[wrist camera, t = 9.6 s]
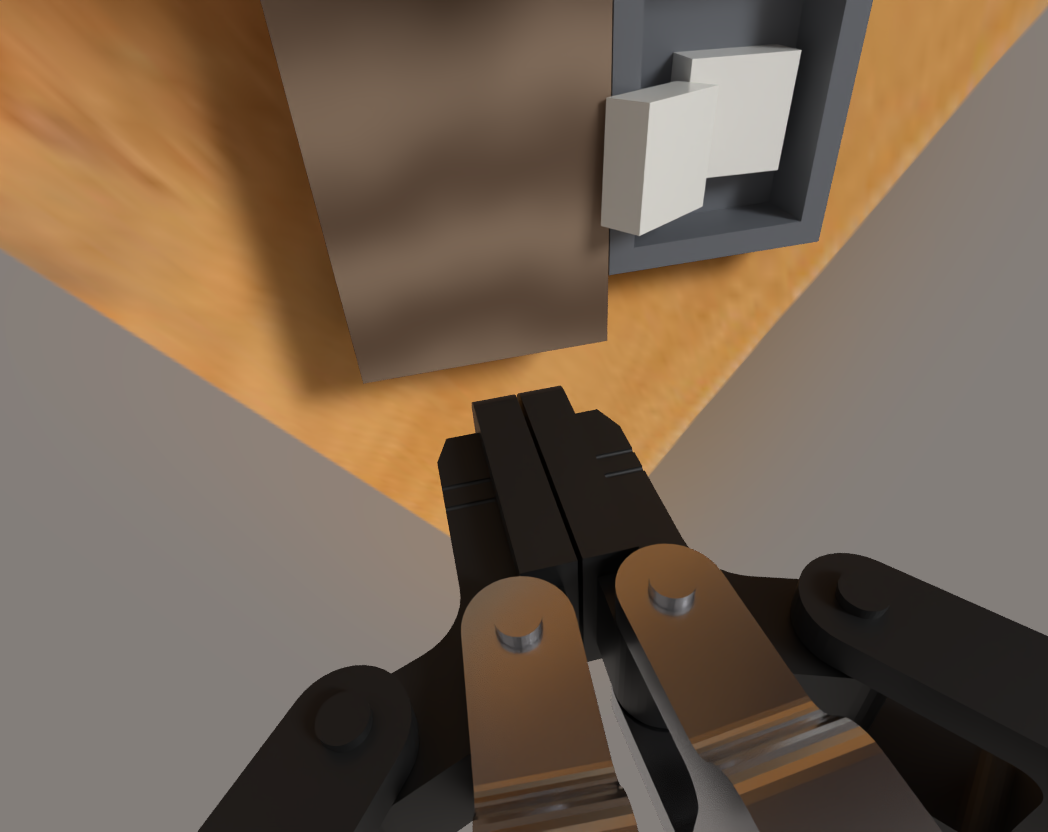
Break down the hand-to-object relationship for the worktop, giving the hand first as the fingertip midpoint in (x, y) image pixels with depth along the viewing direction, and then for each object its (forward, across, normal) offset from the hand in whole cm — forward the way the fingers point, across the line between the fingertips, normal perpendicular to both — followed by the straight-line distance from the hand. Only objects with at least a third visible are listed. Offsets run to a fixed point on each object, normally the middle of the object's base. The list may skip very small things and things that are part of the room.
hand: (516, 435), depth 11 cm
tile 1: (+19, -9, +2) cm, 21 cm away
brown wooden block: (+22, -2, +1) cm, 22 cm away
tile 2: (+20, -14, +1) cm, 24 cm away
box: (+22, -14, 0) cm, 26 cm away
